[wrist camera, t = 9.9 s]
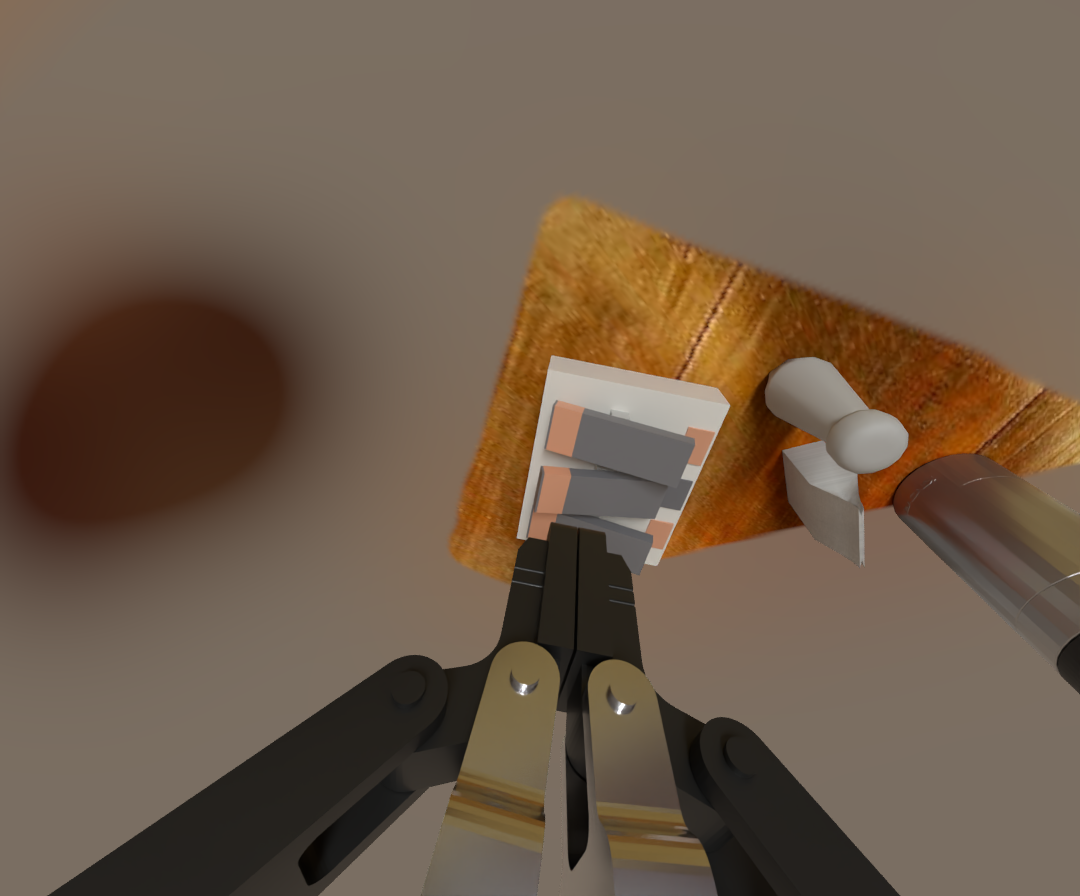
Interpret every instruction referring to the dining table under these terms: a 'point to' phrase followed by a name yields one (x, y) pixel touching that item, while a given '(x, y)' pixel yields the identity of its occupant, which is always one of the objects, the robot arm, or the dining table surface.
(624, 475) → the switch
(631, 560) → the switch
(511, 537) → the dining table surface
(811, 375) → the salt shaker
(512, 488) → the dining table surface
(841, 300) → the dining table surface
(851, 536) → the white gabled box
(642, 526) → the switch box
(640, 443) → the switch
